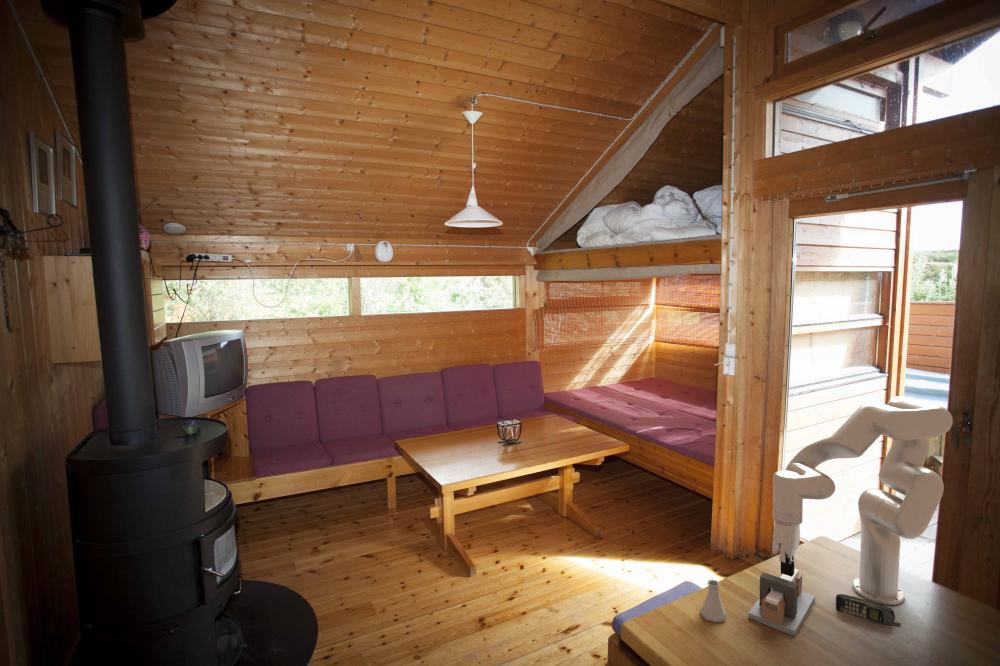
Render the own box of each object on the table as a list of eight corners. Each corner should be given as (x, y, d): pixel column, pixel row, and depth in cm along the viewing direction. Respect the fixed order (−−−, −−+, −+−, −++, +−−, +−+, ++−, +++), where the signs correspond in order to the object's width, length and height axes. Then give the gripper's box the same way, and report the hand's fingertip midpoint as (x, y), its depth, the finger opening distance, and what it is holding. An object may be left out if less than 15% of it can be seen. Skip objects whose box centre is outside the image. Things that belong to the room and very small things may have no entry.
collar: (762, 600, 156) (763, 572, 155) (796, 613, 150) (797, 583, 149) (759, 605, 154) (759, 576, 153) (793, 618, 148) (794, 588, 147)
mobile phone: (835, 596, 153) (901, 613, 144) (836, 590, 155) (901, 607, 146) (835, 612, 153) (900, 630, 145) (836, 606, 156) (900, 624, 147)
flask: (729, 624, 150) (729, 591, 149) (702, 622, 152) (702, 589, 150) (724, 608, 157) (724, 576, 156) (698, 606, 159) (698, 574, 157)
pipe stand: (771, 585, 167) (771, 560, 166) (814, 600, 158) (815, 574, 157) (748, 617, 152) (748, 590, 151) (794, 636, 144) (795, 608, 143)
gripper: (781, 501, 162) (781, 558, 164) (764, 520, 151) (765, 581, 153) (809, 508, 156) (808, 566, 159) (794, 528, 146) (794, 591, 148)
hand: (787, 573), depth 156 cm, fingers closed
